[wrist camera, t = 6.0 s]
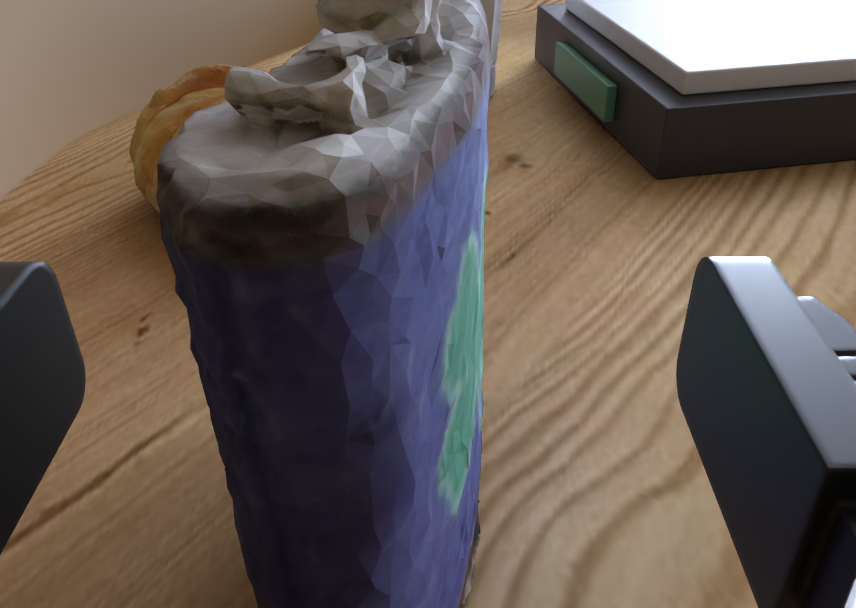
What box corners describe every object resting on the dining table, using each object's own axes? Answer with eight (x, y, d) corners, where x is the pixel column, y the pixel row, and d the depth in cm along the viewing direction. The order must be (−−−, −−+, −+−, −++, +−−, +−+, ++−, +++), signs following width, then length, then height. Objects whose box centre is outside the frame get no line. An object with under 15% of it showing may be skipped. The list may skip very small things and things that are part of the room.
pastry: (449, 235, 24) (448, 114, 22) (250, 318, 21) (225, 184, 19) (292, 142, 30) (279, 40, 28) (118, 194, 27) (88, 83, 25)
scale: (645, 180, 27) (659, 85, 25) (526, 58, 39) (530, -13, 37) (1014, 143, 29) (1052, 53, 28) (798, 38, 41) (814, -30, 39)
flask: (377, 364, 19) (346, -152, 13) (500, 376, 19) (527, -152, 13) (243, 761, 12) (24, -32, 6) (445, 793, 11) (448, -21, 5)
